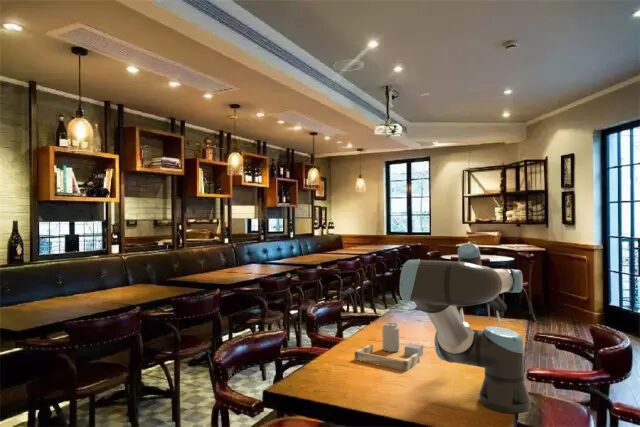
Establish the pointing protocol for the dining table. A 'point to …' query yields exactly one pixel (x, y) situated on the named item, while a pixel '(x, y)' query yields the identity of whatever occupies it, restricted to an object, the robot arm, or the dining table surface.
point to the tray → (386, 359)
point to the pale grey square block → (413, 349)
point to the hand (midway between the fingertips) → (481, 321)
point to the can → (390, 337)
